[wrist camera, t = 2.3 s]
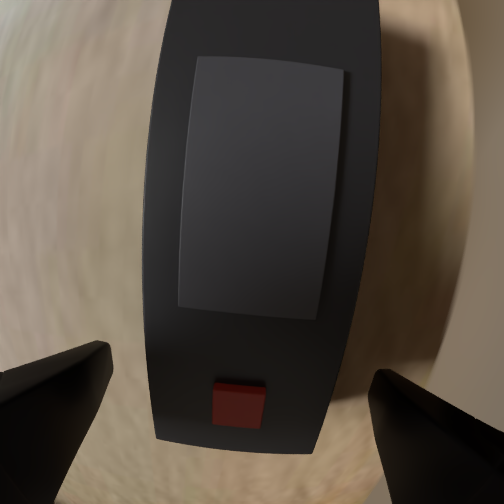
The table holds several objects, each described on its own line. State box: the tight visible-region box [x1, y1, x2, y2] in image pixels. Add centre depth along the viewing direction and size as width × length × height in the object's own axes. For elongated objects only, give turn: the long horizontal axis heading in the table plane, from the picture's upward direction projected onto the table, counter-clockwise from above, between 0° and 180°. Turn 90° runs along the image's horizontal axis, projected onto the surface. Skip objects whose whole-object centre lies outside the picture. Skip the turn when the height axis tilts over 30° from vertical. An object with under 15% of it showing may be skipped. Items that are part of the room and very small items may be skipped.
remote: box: [142, 0, 381, 454], centre depth 7 cm, size 12×4×2 cm, turn 175°
